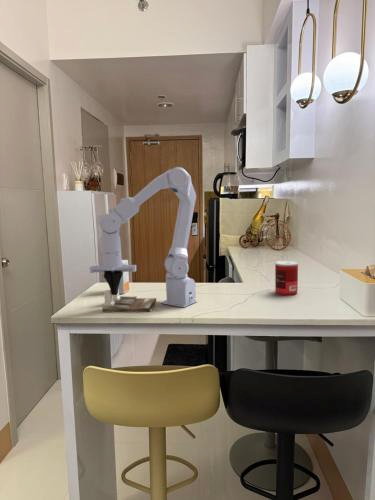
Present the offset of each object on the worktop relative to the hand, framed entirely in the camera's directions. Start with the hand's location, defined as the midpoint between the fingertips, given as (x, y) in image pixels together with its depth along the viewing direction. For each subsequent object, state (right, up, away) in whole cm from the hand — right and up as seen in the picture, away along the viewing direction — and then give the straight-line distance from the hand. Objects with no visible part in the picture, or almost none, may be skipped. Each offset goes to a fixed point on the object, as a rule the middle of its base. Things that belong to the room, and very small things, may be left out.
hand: (115, 294), depth 117 cm
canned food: (+59, -1, +14) cm, 60 cm away
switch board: (+4, -4, +3) cm, 7 cm away
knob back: (-1, -3, +7) cm, 8 cm away
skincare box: (-2, -2, +22) cm, 22 cm away
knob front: (-2, -4, +1) cm, 4 cm away
